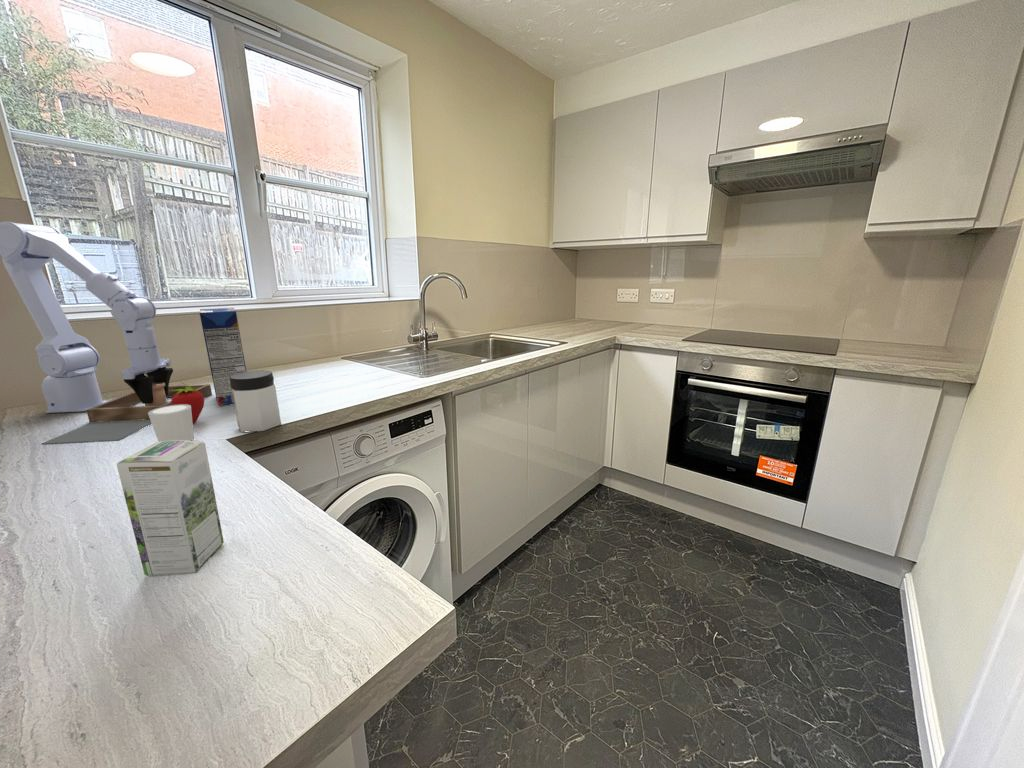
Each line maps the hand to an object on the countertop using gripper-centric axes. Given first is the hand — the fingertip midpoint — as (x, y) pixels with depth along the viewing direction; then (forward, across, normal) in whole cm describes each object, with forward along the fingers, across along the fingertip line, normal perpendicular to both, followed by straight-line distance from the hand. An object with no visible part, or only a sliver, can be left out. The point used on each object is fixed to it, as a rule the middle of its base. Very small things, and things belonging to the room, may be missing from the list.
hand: (155, 399), depth 106 cm
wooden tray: (+2, 0, 0) cm, 2 cm away
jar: (+2, -18, -32) cm, 37 cm away
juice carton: (+2, +5, -16) cm, 17 cm away
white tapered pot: (+2, -25, -19) cm, 31 cm away
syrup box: (+2, -65, -43) cm, 78 cm away
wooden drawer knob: (+2, 0, 0) cm, 2 cm away
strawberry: (+2, -14, -16) cm, 21 cm away
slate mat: (+2, -17, 0) cm, 17 cm away
